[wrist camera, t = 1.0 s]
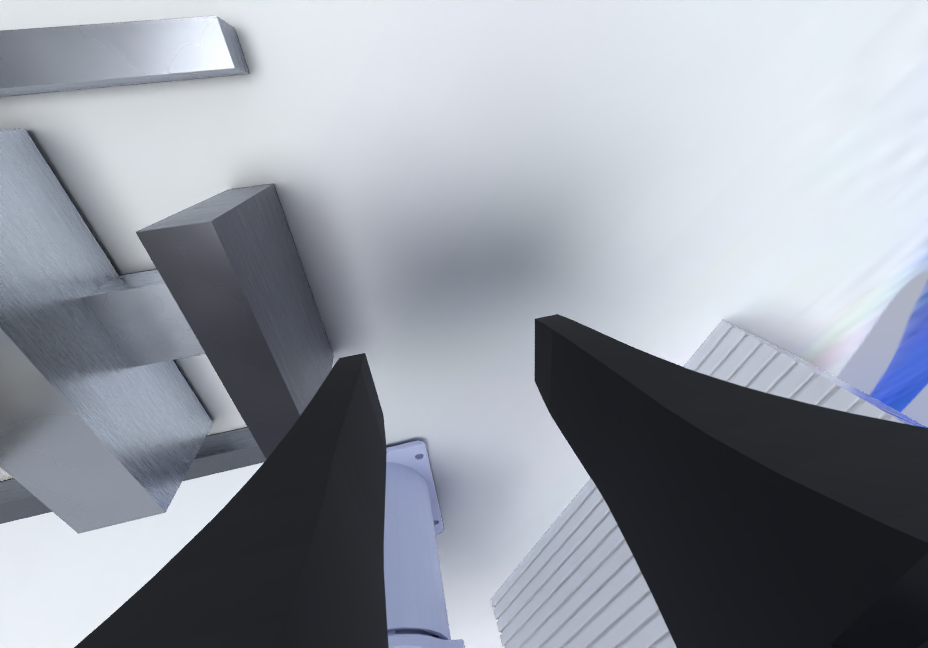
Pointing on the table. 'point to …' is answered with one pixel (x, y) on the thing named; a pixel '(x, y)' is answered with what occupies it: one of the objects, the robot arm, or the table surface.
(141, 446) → the vise jaw
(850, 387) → the white ridged block
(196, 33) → the vise
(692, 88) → the table surface
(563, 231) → the table surface
